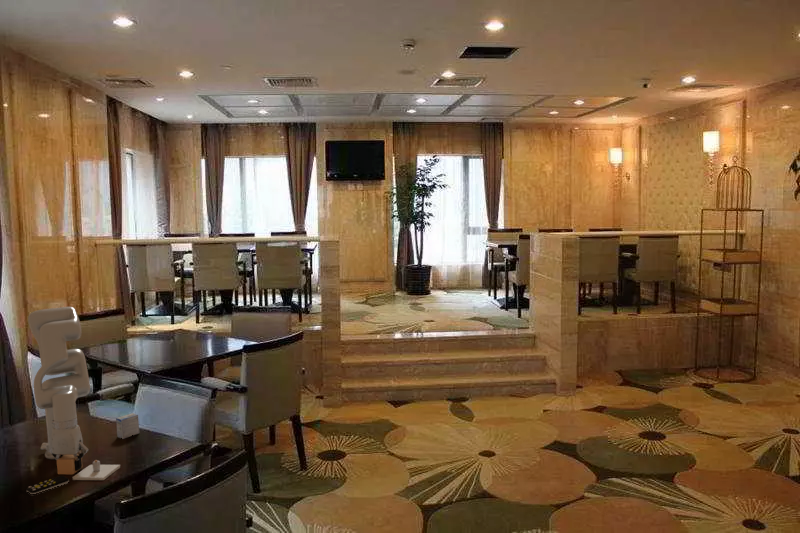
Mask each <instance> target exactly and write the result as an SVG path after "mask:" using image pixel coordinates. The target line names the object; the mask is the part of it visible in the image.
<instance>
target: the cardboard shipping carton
mask: <svg viewBox="0 0 800 533" xmlns="http://www.w3.org/2000/svg"><path fill="white" fill-rule="evenodd" d="M77 455H78V454H77ZM74 461H75V458H74V455H64V456H62V457H61V458H59V459H58V460H56V466H57V474H58V475H74V474H75V473H78V471H80V470H81V469H84V468H83V465H82V468H81V469H79V470H78V471H75V463H74ZM81 461H82V462H83V457H82V458H81Z"/></svg>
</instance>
